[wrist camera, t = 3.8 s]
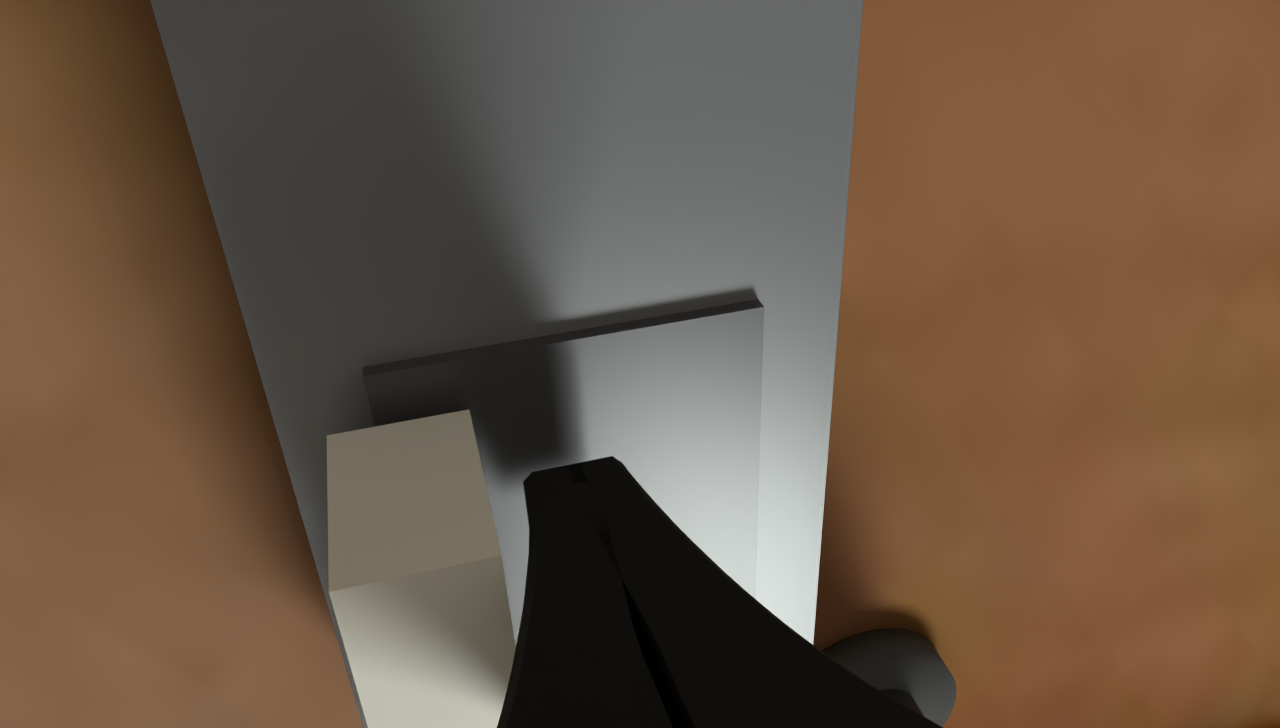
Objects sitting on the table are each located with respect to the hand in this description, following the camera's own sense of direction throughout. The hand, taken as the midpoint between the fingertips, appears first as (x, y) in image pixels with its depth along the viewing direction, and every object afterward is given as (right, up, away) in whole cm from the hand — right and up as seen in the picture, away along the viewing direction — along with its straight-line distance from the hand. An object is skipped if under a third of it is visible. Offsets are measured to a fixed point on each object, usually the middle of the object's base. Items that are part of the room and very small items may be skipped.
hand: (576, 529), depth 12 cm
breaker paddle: (-2, 0, 0) cm, 2 cm away
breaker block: (-1, +2, +4) cm, 5 cm away
